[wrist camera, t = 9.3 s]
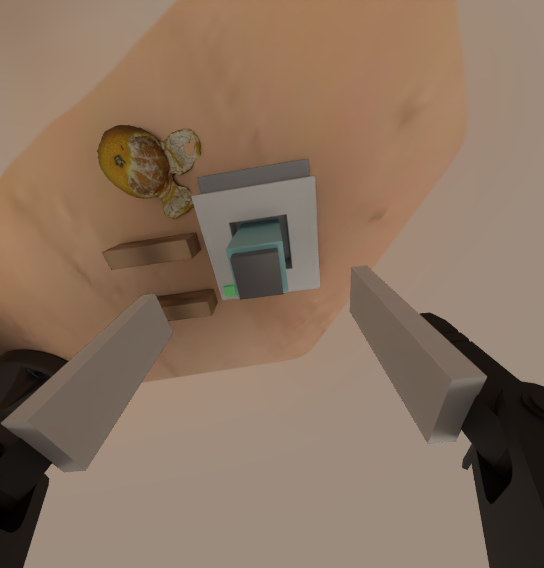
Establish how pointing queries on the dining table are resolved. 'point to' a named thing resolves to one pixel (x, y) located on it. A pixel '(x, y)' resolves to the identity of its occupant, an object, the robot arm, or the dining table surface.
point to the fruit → (149, 164)
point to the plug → (258, 260)
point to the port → (262, 218)
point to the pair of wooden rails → (159, 253)
